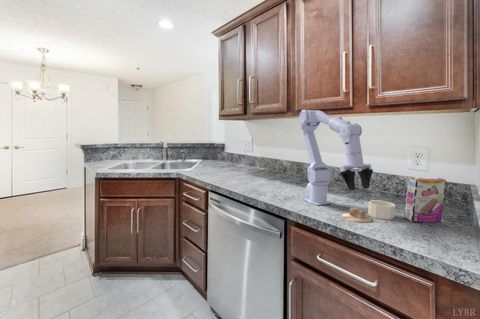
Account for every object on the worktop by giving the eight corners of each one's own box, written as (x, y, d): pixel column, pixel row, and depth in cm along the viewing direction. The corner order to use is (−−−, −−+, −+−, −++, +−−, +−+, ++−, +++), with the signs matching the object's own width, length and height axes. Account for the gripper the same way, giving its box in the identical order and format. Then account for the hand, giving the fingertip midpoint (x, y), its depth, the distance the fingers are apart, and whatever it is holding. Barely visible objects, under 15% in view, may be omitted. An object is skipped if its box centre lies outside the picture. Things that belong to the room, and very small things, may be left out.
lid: (336, 216, 100) (336, 207, 100) (355, 212, 105) (355, 204, 104) (358, 225, 91) (359, 215, 90) (378, 220, 95) (378, 211, 95)
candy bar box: (412, 223, 92) (416, 179, 91) (403, 218, 97) (407, 176, 96) (442, 222, 93) (446, 179, 91) (431, 218, 98) (435, 176, 96)
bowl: (363, 213, 103) (364, 201, 102) (378, 210, 106) (379, 199, 106) (383, 220, 94) (384, 207, 94) (399, 217, 98) (400, 205, 98)
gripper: (348, 152, 91) (353, 190, 90) (375, 151, 97) (381, 187, 96) (333, 155, 98) (338, 191, 96) (360, 154, 104) (365, 188, 102)
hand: (359, 189), depth 96 cm, fingers open, 7 cm apart
